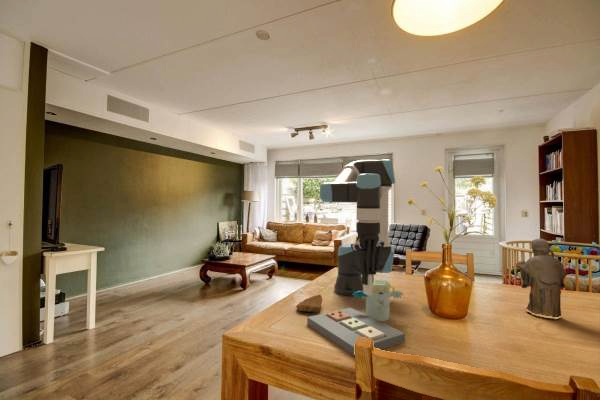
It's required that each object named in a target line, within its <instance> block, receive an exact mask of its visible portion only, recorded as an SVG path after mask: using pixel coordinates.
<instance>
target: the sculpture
mask: <svg viewBox="0 0 600 400" xmlns="http://www.w3.org/2000/svg"><path fill="white" fill-rule="evenodd" d="M530 247H531V249H532V254H533V256H531V257H529V258H528V259H527V260H526V261H524V260H520V261H517V267H518V268H519V270H518V271H519V272H520V277H521V278H520V279H521V280H522V283H521V285H520V287H521V288H522V289H526V288H528V286H530V291H529V295H528V296H529V298H528V299H529V302H528V304H527V307H526V308H525V310H526V309H528V310H529V311H531V312H532V313H535V314H541V315H545V316H552V317H559V316H561V317H562V309H561V308H562V307H561V294H562V290H561V288H562V289H566V284H565V277H566V276H567V275H568V274H567V271H566V269H565V267H564V265H563V263H562V261H561V260H560V259H558V258H557V257H555V253H554V251H553V250H552V249H551V248H550V244H549V243H548V241H547V240H546V239H544V238H534V240H532V241H531V243H530ZM550 254H551V255H550ZM567 277H568V276H567Z"/></svg>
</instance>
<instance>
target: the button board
mask: <svg viewBox="0 0 600 400" xmlns="http://www.w3.org/2000/svg"><path fill="white" fill-rule="evenodd" d="M339 310H340V311H342V312H344V313H346V314H348V315H350V319H351V318H356V319H358V320H360V321H362V322H363V323H365V324H366V327H369V326H371V327H373V328H375V329H377V330H379V331H381V332H383V333H385V336H384V337H382V338H379V339H376V340H373V341H374V347H375V348H379V349H381V350H384V349H387V348H390V347H393V346H395V345H398V344H399V345H400V344H402V343H404V342H406V333H405V332H403V331H401V330H399V329H397V328H395V327H392V326H390V325H389V324H386V323H384V322H383V321H378V320H376V319H374V318H372V317H369V316H367V315H366V313H363V312H361V311H359V310H356V309H355V308H352V307H346V308H342V309H338V310H334V311H333V310H332V312H335V311H339ZM330 312H331V311H329V312H326V313H320V314H316V315H311V316H307V321H306V322H307V325H308V326H309V327H311V328H312V329H313V330H315V331H316V332H318V333H319V334H321V335H322V336H324V337H326V338H327V339H329V340H330V341H331V342H333V343H334V344H336V345H337V346H339V347H340V348H342V349H344V351H346V352H347V351H348V352H347V353H349V354H350V353H351V354H350V355H352V356H353V357H355V356H354V344H355V342H356V340H357V338H358V337H362V336H360V335H358V334H357V330H358V329H357V330H354V331H351V330H350V329H348V328H346V327H344V326H343V325H341V321H339V322H336V321H334V320H332V319H331V318H329V317H327V313H330ZM366 327H365V328H366ZM361 329H362V328H361Z"/></svg>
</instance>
